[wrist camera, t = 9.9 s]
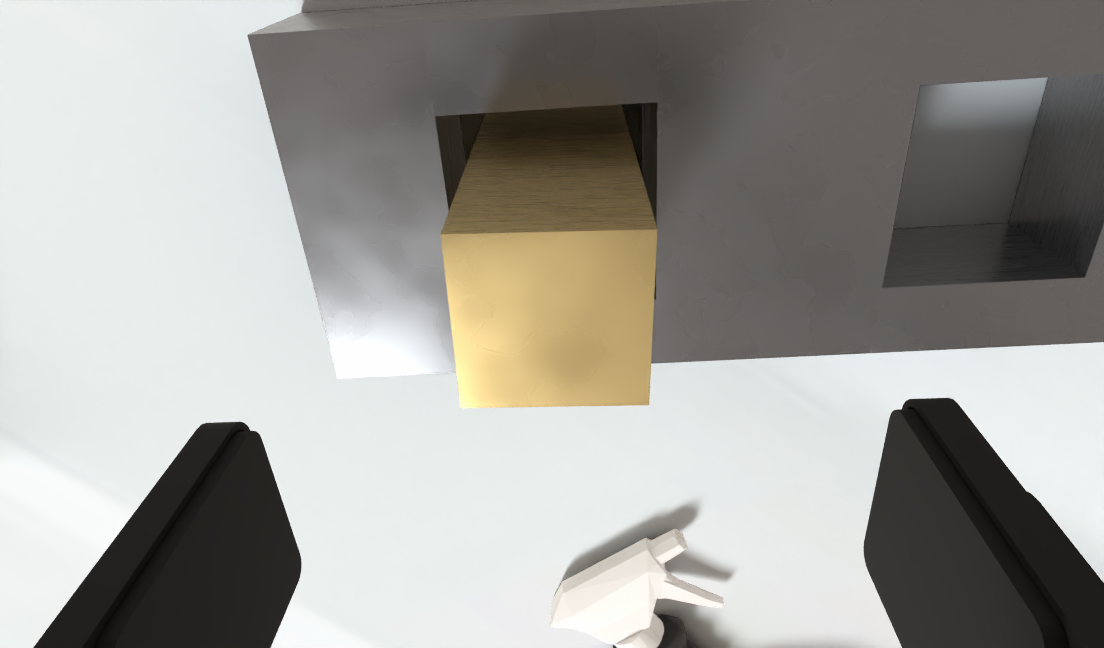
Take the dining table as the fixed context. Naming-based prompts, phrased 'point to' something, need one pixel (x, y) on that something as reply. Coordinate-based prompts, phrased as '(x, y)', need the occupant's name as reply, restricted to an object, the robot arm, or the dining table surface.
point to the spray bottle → (630, 597)
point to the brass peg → (551, 263)
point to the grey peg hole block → (702, 165)
